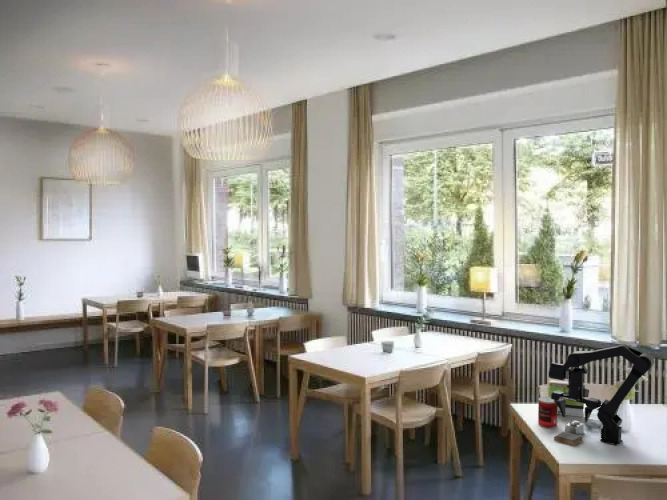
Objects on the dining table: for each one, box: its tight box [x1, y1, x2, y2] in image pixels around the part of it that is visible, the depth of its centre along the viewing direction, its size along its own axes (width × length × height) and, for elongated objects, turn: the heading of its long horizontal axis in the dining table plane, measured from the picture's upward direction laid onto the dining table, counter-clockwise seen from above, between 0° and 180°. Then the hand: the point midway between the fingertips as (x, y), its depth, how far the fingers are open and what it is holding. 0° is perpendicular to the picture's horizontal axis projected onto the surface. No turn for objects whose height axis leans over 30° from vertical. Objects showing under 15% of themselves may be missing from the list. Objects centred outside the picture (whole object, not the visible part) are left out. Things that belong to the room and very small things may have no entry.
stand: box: [553, 431, 584, 447], centre depth 228 cm, size 8×8×2 cm
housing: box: [564, 419, 585, 436], centre depth 237 cm, size 4×7×5 cm, turn 132°
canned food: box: [537, 396, 558, 429], centre depth 247 cm, size 8×8×11 cm
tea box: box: [546, 377, 585, 418], centre depth 264 cm, size 15×10×15 cm
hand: (575, 419), depth 236 cm, fingers open, 9 cm apart
